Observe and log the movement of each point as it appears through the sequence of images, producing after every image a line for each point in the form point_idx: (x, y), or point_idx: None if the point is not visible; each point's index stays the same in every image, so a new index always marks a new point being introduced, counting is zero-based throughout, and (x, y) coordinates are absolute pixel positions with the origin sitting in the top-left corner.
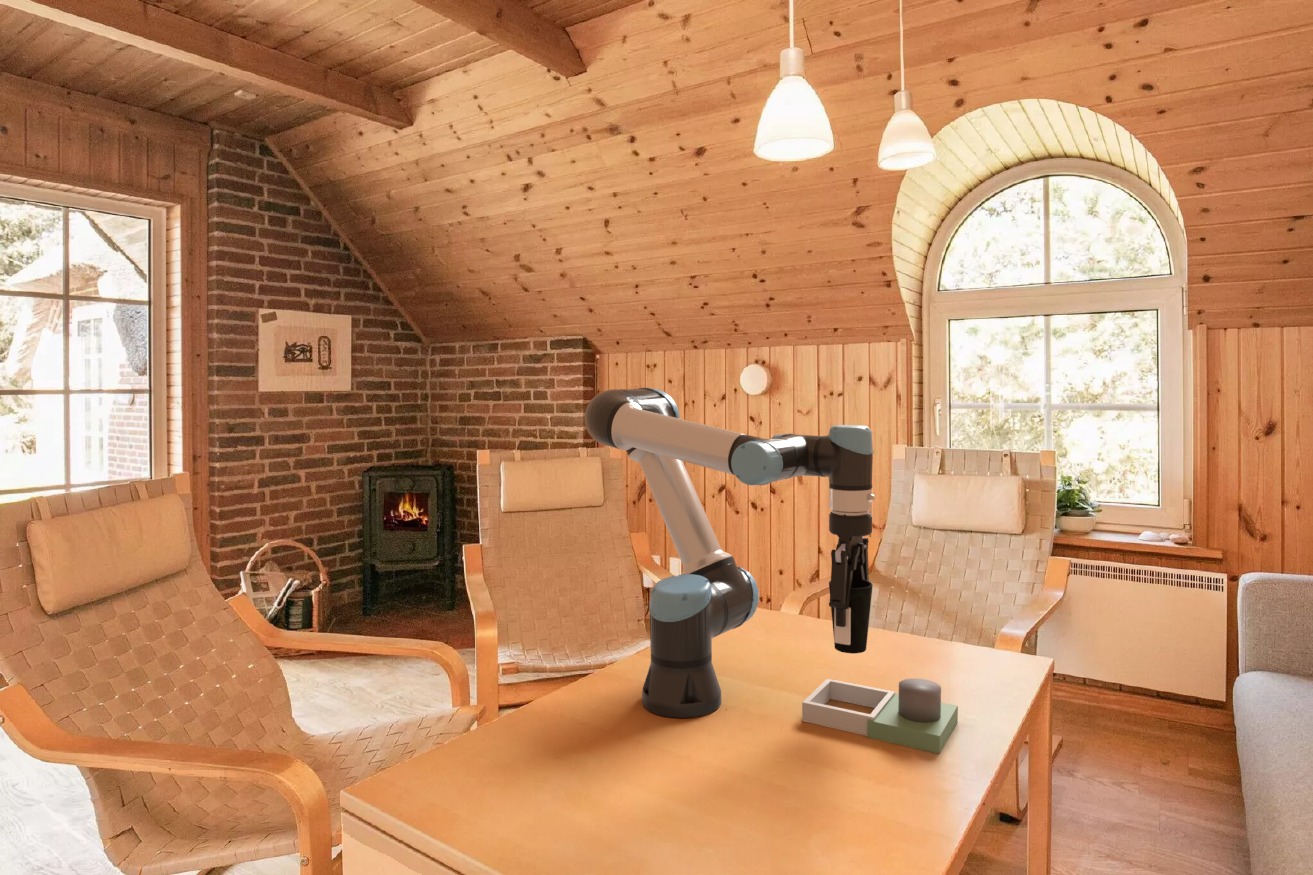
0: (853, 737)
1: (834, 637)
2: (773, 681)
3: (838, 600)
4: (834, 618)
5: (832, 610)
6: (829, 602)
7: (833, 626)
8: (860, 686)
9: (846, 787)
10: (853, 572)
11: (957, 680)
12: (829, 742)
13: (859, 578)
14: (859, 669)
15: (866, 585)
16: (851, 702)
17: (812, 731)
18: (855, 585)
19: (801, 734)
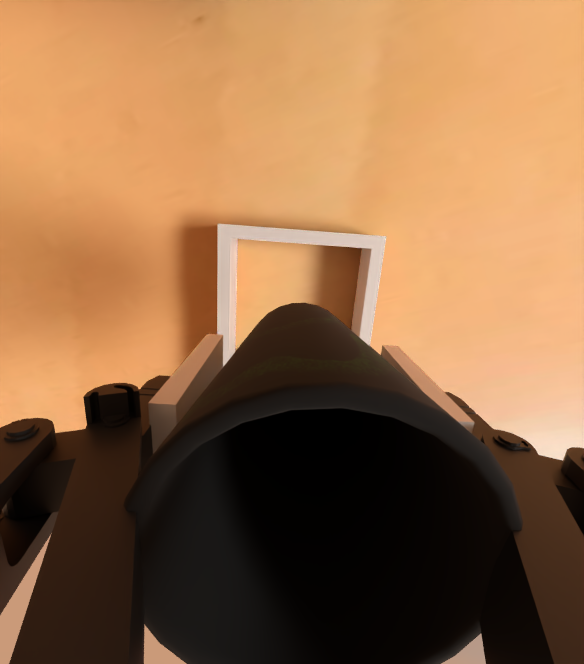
0: (208, 333)
1: (202, 340)
2: (420, 76)
3: (11, 500)
4: (174, 372)
5: (240, 350)
6: (4, 428)
7: (260, 327)
8: (364, 319)
9: (35, 364)
10: (521, 650)
11: (537, 442)
12: (166, 300)
13: (486, 614)
14: (557, 261)
15: (421, 610)
16: (356, 293)
17: (192, 258)
18: (461, 519)
19: (169, 242)
